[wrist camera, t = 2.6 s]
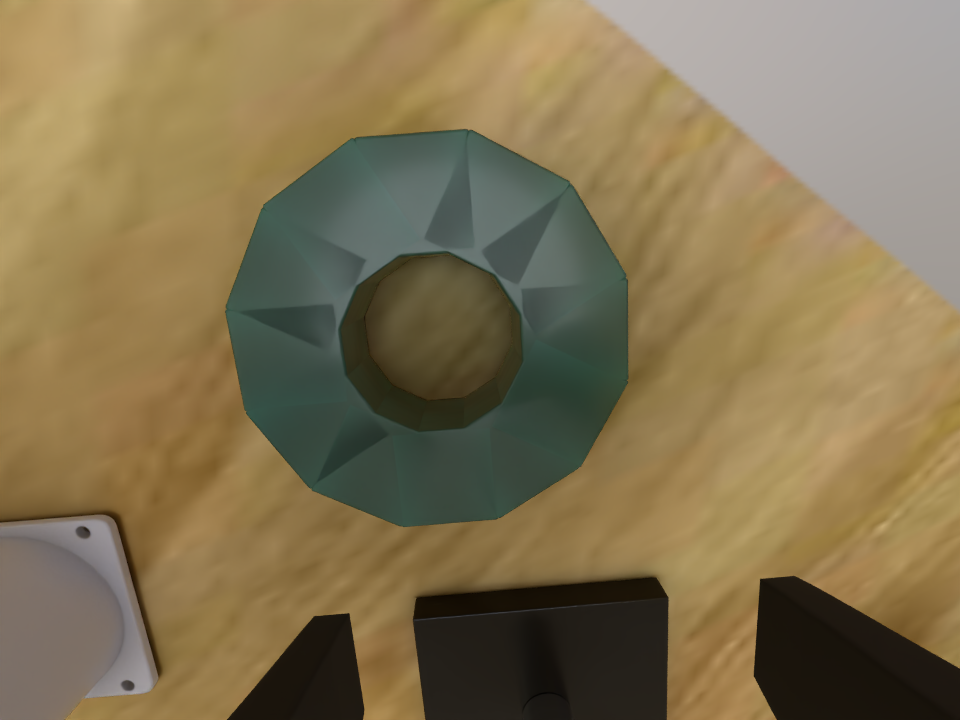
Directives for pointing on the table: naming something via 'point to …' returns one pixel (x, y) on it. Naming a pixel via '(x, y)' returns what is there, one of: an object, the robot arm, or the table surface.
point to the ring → (343, 341)
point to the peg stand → (545, 653)
